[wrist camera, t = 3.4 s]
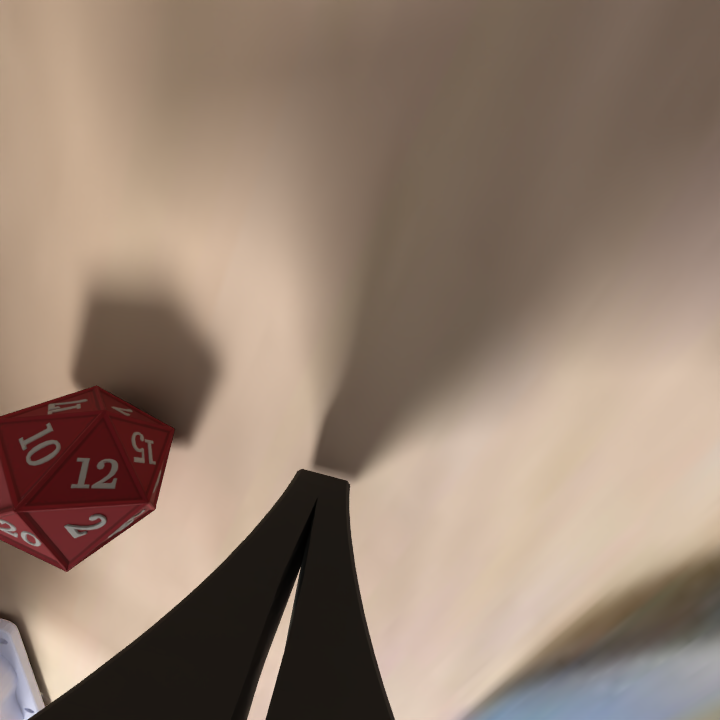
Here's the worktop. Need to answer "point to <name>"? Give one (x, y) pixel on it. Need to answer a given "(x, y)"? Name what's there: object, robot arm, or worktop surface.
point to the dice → (78, 474)
